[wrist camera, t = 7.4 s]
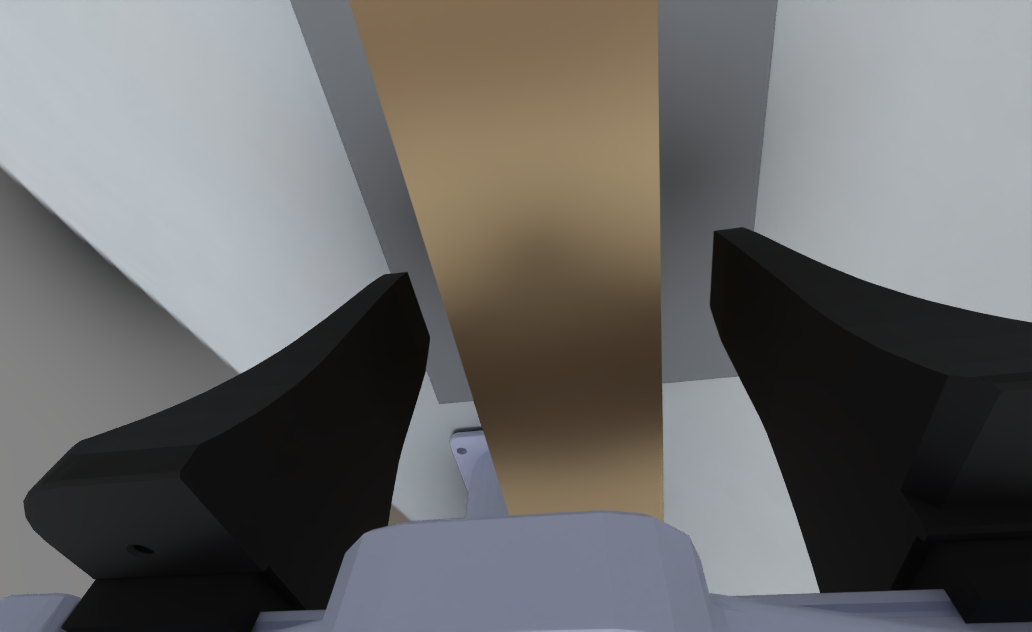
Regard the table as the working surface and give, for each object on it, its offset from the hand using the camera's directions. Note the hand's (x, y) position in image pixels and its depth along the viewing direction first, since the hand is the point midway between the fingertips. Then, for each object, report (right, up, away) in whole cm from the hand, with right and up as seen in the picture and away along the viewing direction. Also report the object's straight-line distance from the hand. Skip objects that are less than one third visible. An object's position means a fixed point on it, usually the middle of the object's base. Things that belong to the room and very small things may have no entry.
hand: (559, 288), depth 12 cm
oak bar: (0, +1, +2) cm, 3 cm away
